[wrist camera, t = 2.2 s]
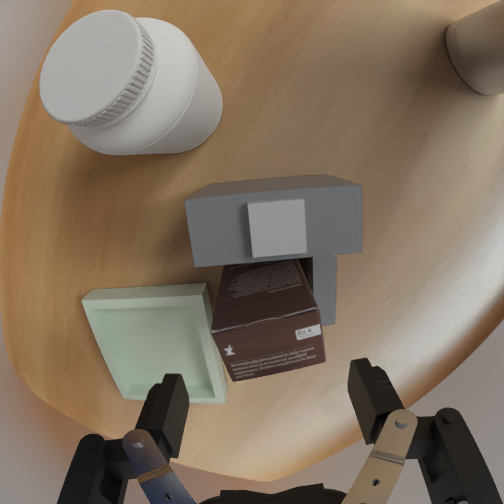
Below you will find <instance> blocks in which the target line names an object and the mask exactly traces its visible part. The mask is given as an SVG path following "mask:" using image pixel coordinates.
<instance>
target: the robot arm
mask: <svg viewBox="0 0 504 504" xmlns="http://www.w3.org/2000/svg"><path fill="white" fill-rule="evenodd" d="M445 41H446V47H447V50H448V54H449V57H450V59H451V61H452V63H453V65H454V67H455V68H456V70H457V72H458V73H459V75H460V76H461V77H462V79H463V80H464V81H465V82H466V83H467V84H468V85H469V86H470V87H471V88H472V89H473V90H475V91H477V92H478V93H480V94H483V95H493V94H501V93H504V0H501V1H499V2H496V3H494V4H492V5H489V6H487V7H485V8H483V9H481V10H479V11H477V12H475V13H472V14H470V15H468V16H466V17H464V18H462V19H460V20H458V21H457V22H455V23H453V24H451V25H450V26H449V27H448V28H447V31H446V40H445ZM348 393H349V396H350V399H351V402H352V405H353V408H354V410H355V413H356V416H357V419H358V422H359V425H360V428H361V431H362V434H363V437H364V440H365V442H366V445H368V444H372V443H374V448H373V450H372V452H371V453H370V454H369V456H368V458H367V460H366V462H365V464H364V466H363V468H362V469H361V471H360V473H359V475H358V477H357V478H356V480H355V482H354V483H353V485H352V487H351V488H350V490H349V492H348V493H347V494H346V493H344V492H341V491H338V490H334V489H324V486H323V483H321V484H314V485H307V486H300V487H295V488H292V489H289V490H286V491H283V492H279V493H275V494H265V493H259V492H253V491H247V490H221V493H220V496H216V497H213V498H210V499H207V500H205V501H203V502H201V503H199V504H386V503H387V501H388V499H389V497H390V495H391V493H392V490H393V489H394V486H395V484H396V482H397V480H398V477H399V475H400V473H401V471H402V468H403V466H404V463H405V459H418V462H419V465H420V467H421V471H422V474H423V477H424V480H425V483H426V486H427V489H428V493H429V496H430V499H431V502H432V504H503V503H502V500H501V498H500V495H499V493H498V490H497V488H496V485H495V483H494V481H493V478H492V476H491V474H490V472H489V469H488V467H487V465H486V463H485V461H484V458H483V456H482V454H481V452H480V450H479V448H478V446H477V444H476V442H475V440H474V438H473V436H472V434H471V432H470V431H469V428H468V427H467V425H466V423H465V421H464V419H463V417H462V416H461V414H460V413H459V411H457V410H456V409H453V408H443V409H441V410H439V411H438V412H437V414H436V415H435V416H430V417H417V416H415V415H414V413H412V412H410V411H409V410H405V408H404V406H403V404H402V402H401V400H400V399H399V397H398V395H397V393H396V391H395V389H394V387H393V385H392V383H391V381H389V378H388V376H387V374H386V372H385V371H384V370H383V369H381V368H380V367H379V366H374V367H372V366H371V364H370V362H369V360H368V359H367V358H361V359H356V360H352V361H351V363H350V370H349V377H348ZM188 409H189V395H188V392H187V389H186V386H185V383H184V380H183V377H182V374H180V373H166V374H165V375H164V377H163V380H162V383H155V384H154V386H153V387H152V388H151V389H150V390H149V392H148V395H147V397H146V400H145V402H144V406H143V408H142V410H141V413H140V416H139V418H138V421H137V424H136V427H135V429H134V430H131V431H129V432H128V433H126V434H125V435H124V437H123V438H122V439H115V440H104V438H103V437H102V436H100V435H98V434H89V435H86V436H84V437H83V438H82V439H81V440H80V442H79V444H78V447H77V449H76V452H75V455H74V457H73V460H72V462H71V465H70V468H69V470H68V473H67V476H66V479H65V481H64V484H63V487H62V490H61V493H60V496H59V498H58V502H57V504H123V502H124V497H125V493H126V488H127V484H128V479H136V478H138V482H139V484H140V486H141V488H142V489H143V491H144V493H145V495H146V497H147V498H148V500H149V502H150V504H197V503H196V502H195V501H194V500H193V498H192V497H191V495H190V494H189V493H188V491H187V490H186V489H185V487H184V486H183V485H182V483H181V482H180V480H179V479H178V477H177V476H176V475H175V473H174V472H173V470H172V469H171V467H170V466H169V461H170V458H178V456H179V451H180V446H181V441H182V436H183V432H184V427H185V422H186V418H187V413H188Z"/></svg>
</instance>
